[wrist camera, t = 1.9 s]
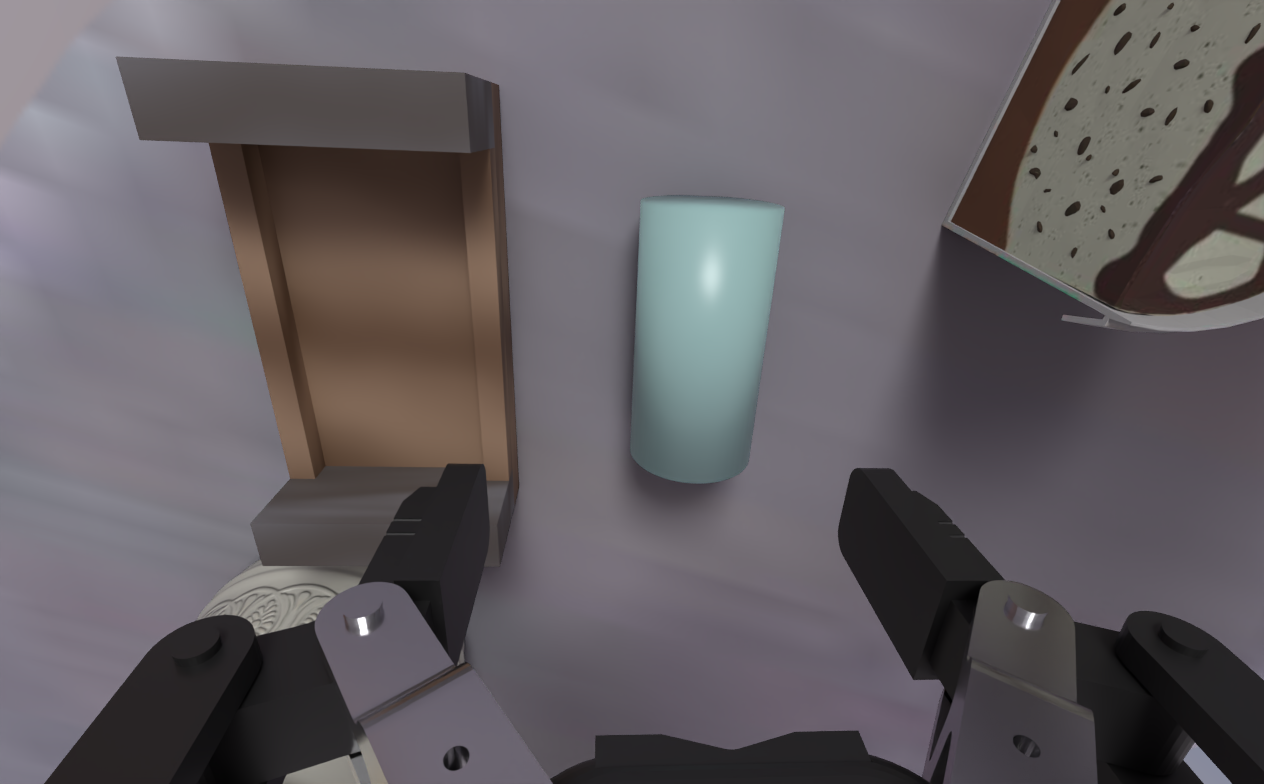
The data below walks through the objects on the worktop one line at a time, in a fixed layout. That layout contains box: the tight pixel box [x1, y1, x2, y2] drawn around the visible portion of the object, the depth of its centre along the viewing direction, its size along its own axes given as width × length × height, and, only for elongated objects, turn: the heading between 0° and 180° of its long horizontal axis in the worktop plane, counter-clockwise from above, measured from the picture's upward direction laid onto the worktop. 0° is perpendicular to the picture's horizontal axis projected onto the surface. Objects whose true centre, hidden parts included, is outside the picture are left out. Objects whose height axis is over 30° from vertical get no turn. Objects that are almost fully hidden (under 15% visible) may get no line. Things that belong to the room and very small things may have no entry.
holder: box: [116, 57, 519, 567], centre depth 21 cm, size 17×9×6 cm, turn 178°
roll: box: [630, 195, 785, 484], centre depth 23 cm, size 10×5×5 cm
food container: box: [942, 0, 1264, 333], centre depth 18 cm, size 12×6×10 cm, turn 164°
